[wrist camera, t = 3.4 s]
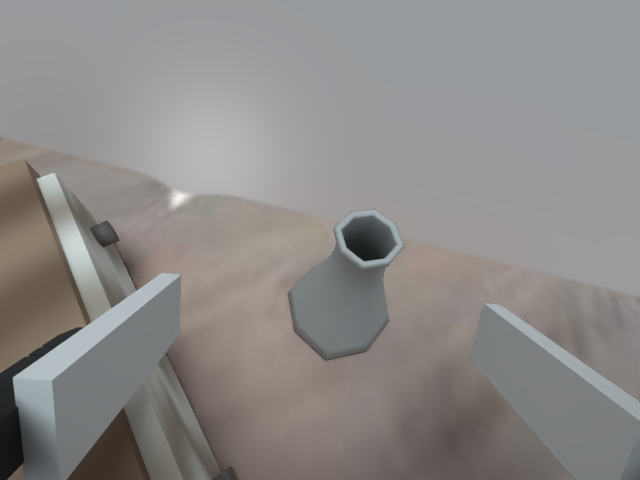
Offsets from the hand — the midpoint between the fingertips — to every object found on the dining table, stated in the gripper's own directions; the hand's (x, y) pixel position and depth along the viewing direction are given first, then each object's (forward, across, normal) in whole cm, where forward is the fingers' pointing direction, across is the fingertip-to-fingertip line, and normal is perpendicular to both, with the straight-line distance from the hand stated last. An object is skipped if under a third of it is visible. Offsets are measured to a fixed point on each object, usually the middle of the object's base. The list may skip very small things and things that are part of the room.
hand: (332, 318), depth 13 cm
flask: (+9, +2, -4) cm, 10 cm away
